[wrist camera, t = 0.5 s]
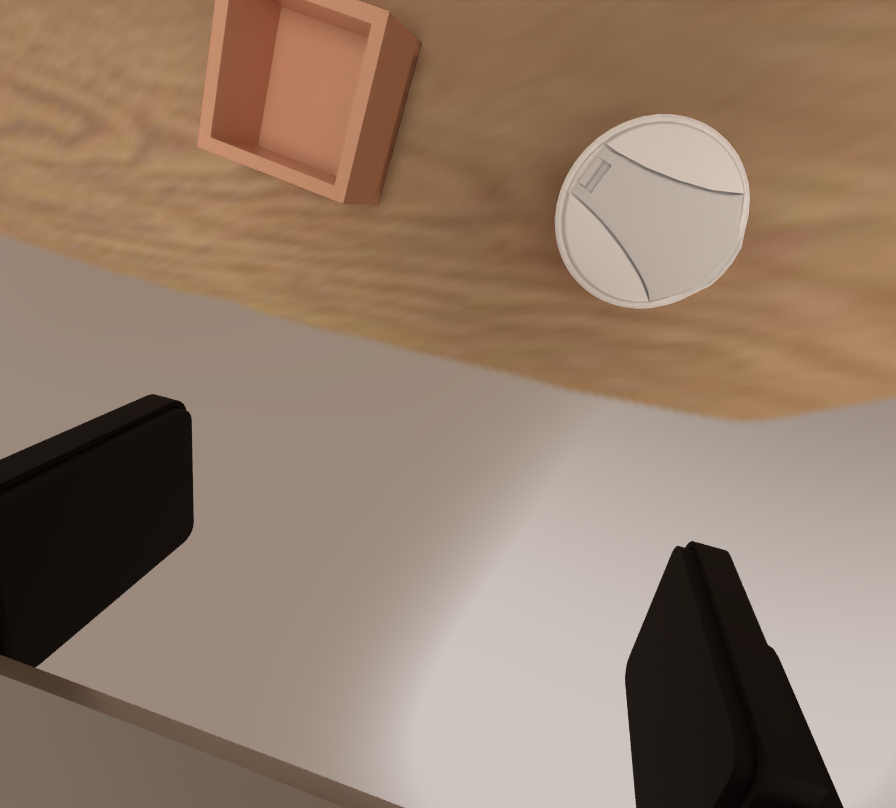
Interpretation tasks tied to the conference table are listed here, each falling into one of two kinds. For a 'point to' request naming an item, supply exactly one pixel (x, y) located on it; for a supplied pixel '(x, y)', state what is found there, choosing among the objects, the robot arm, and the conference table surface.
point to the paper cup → (652, 211)
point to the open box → (308, 92)
